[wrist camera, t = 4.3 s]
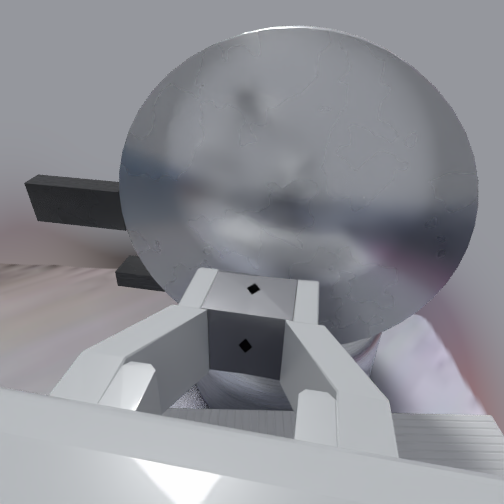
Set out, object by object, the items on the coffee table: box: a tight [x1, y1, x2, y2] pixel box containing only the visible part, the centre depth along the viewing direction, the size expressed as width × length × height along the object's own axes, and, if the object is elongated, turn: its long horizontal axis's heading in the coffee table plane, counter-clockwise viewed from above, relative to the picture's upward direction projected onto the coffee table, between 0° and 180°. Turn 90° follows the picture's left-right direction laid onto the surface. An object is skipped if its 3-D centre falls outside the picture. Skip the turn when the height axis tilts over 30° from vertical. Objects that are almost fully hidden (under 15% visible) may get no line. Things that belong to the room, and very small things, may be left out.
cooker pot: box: [115, 256, 382, 411], centre depth 36 cm, size 19×25×12 cm
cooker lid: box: [25, 26, 478, 344], centre depth 20 cm, size 18×24×1 cm
